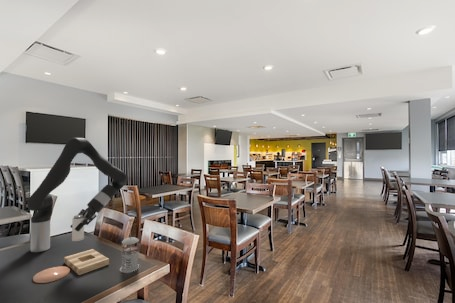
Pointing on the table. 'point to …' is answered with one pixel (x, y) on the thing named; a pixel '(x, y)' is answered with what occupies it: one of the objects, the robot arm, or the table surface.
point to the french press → (129, 254)
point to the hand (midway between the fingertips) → (74, 229)
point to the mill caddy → (86, 261)
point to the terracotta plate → (51, 274)
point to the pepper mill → (75, 222)
